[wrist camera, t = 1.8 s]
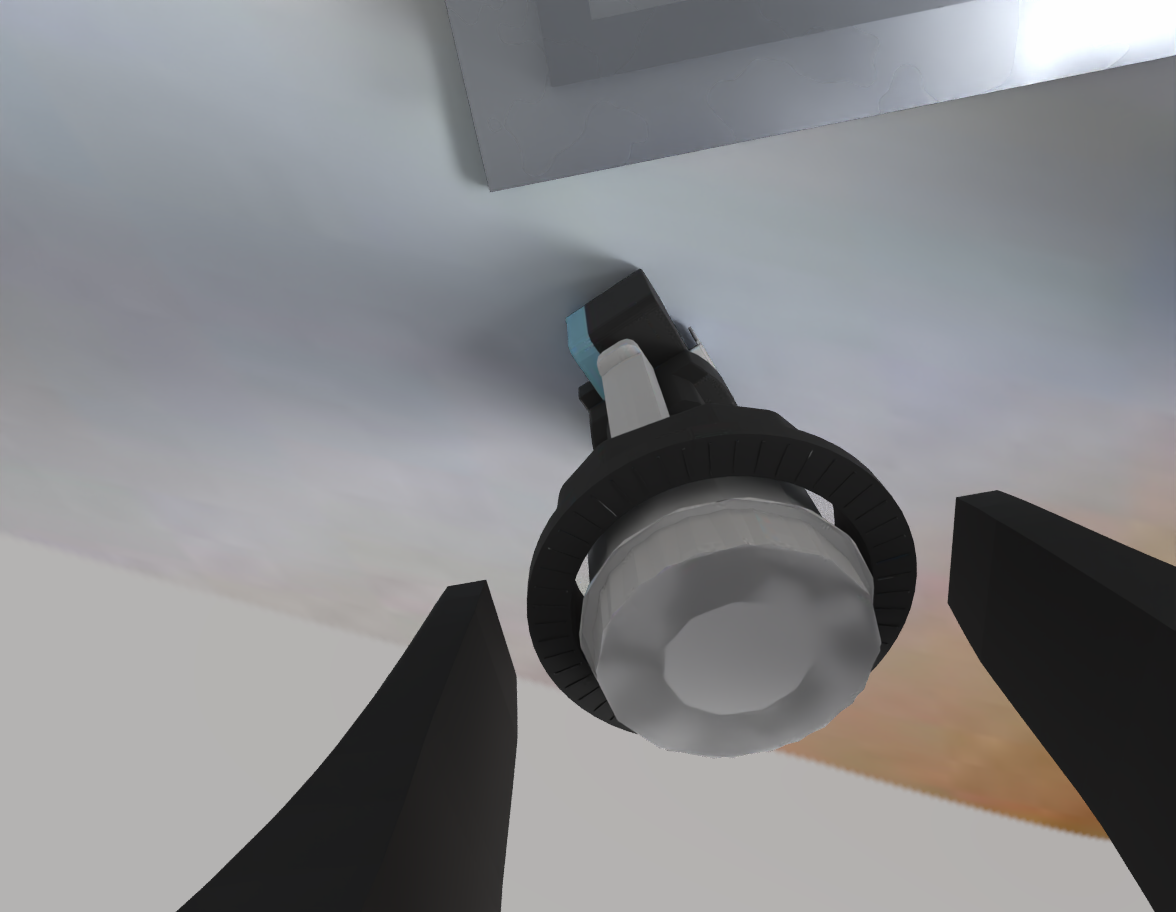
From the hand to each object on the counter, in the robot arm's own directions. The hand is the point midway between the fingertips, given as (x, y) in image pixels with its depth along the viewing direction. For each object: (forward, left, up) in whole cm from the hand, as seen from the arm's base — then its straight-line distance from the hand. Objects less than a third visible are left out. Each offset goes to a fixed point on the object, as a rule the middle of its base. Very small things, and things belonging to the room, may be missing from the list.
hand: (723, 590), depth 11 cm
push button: (0, 0, -8) cm, 8 cm away
